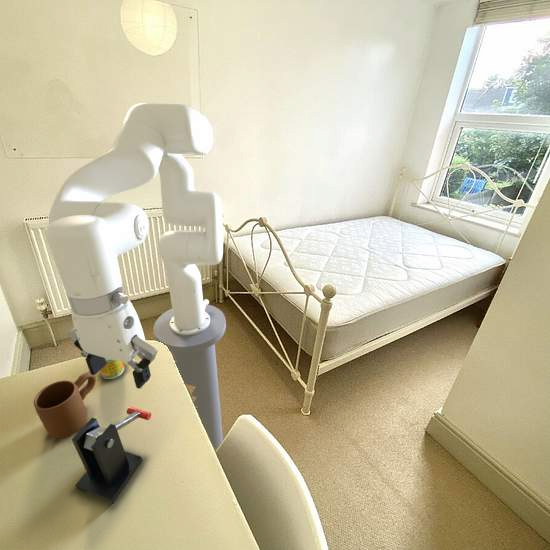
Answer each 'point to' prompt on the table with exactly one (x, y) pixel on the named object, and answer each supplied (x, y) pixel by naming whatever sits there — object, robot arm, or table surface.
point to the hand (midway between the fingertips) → (121, 375)
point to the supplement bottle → (112, 369)
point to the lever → (133, 415)
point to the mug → (64, 406)
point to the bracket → (104, 463)
